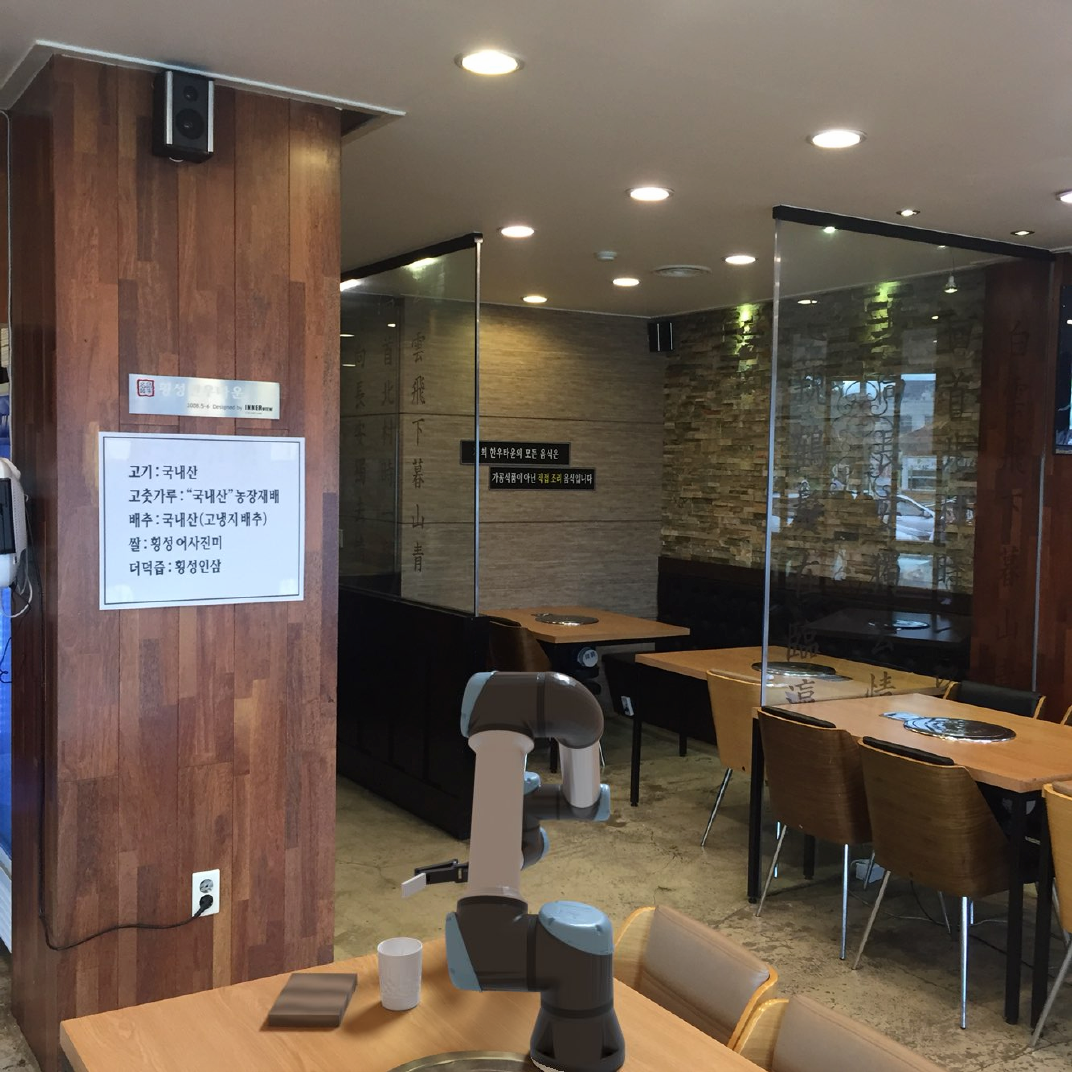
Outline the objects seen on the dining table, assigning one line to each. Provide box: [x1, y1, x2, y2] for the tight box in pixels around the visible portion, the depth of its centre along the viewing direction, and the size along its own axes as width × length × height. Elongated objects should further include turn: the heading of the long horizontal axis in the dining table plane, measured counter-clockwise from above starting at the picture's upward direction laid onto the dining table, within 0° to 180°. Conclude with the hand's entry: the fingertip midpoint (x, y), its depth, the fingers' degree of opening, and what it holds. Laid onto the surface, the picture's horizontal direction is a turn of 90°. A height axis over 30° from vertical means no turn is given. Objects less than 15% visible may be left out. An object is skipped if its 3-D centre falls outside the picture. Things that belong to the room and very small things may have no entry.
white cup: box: [376, 937, 423, 1011], centre depth 193 cm, size 8×8×10 cm
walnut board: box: [267, 972, 359, 1028], centre depth 192 cm, size 16×12×2 cm
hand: (431, 898), depth 202 cm, fingers open, 13 cm apart
